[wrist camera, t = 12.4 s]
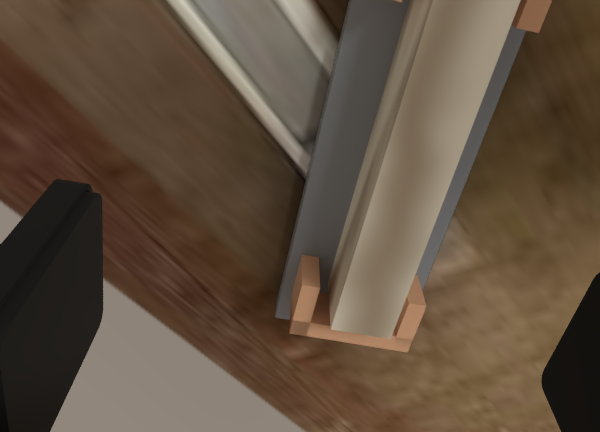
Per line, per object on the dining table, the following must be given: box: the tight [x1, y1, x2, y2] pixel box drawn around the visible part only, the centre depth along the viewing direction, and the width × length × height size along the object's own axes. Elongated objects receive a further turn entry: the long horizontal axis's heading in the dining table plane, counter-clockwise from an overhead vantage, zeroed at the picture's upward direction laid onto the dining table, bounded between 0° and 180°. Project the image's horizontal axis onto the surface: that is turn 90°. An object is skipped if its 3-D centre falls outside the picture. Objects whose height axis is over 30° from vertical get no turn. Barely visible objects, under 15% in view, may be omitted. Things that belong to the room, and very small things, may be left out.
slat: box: [328, 0, 521, 339], centre depth 34 cm, size 4×22×5 cm, turn 168°
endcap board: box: [275, 0, 552, 352], centre depth 35 cm, size 10×30×5 cm, turn 168°
